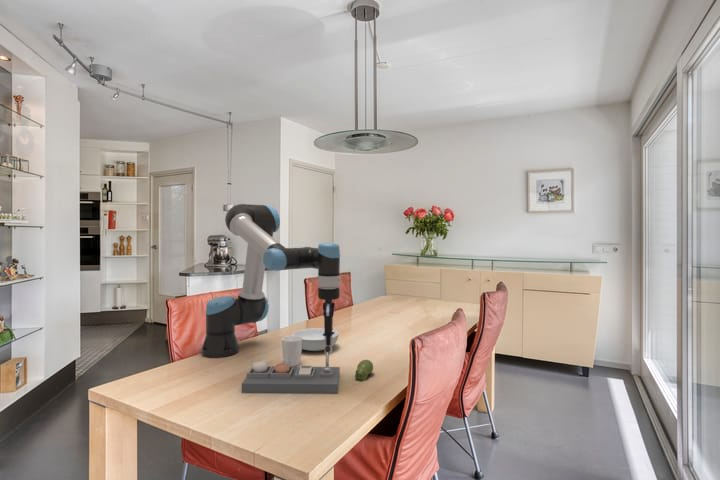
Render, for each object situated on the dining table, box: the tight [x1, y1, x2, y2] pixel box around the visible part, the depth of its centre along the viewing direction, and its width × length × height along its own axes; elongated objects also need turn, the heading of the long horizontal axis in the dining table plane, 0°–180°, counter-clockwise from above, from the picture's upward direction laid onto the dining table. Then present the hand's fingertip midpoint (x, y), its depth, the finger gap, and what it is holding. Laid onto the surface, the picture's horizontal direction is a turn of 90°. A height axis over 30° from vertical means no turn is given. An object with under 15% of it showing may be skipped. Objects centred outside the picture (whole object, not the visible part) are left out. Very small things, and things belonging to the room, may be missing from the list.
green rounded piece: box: [354, 359, 374, 382], centre depth 140 cm, size 6×5×10 cm
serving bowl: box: [291, 327, 339, 352], centre depth 173 cm, size 21×21×7 cm
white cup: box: [281, 335, 303, 367], centre depth 153 cm, size 8×8×10 cm
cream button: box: [252, 359, 269, 373], centre depth 132 cm, size 5×5×3 cm
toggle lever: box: [323, 346, 332, 372], centre depth 134 cm, size 2×2×8 cm
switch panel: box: [241, 365, 341, 394], centre depth 133 cm, size 16×31×5 cm, turn 90°
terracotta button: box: [274, 363, 290, 373], centre depth 133 cm, size 5×5×3 cm
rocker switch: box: [298, 365, 313, 375], centre depth 133 cm, size 5×4×1 cm
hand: (328, 353), depth 136 cm, fingers closed
